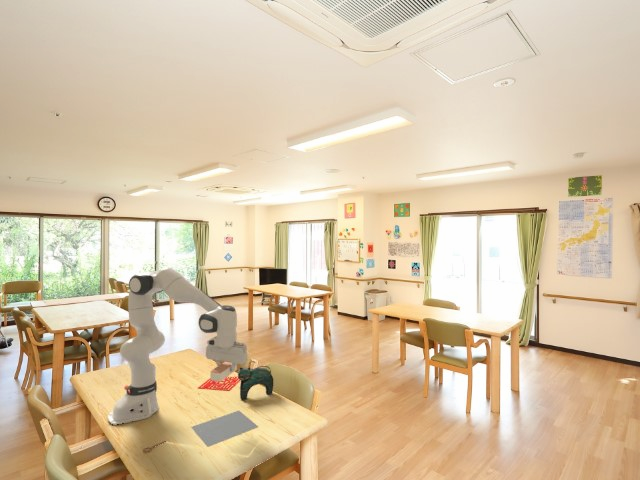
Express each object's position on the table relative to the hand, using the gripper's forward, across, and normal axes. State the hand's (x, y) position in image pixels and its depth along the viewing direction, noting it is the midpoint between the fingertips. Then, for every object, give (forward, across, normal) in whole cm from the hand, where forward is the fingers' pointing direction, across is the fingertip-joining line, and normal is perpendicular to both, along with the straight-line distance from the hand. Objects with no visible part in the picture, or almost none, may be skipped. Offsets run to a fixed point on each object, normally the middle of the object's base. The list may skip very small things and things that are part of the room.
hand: (226, 370), depth 158 cm
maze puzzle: (+29, +29, -42) cm, 59 cm away
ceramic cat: (+27, 0, -32) cm, 41 cm away
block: (-1, 0, +9) cm, 9 cm away
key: (+27, +19, +20) cm, 38 cm away
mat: (+26, -1, +2) cm, 26 cm away
